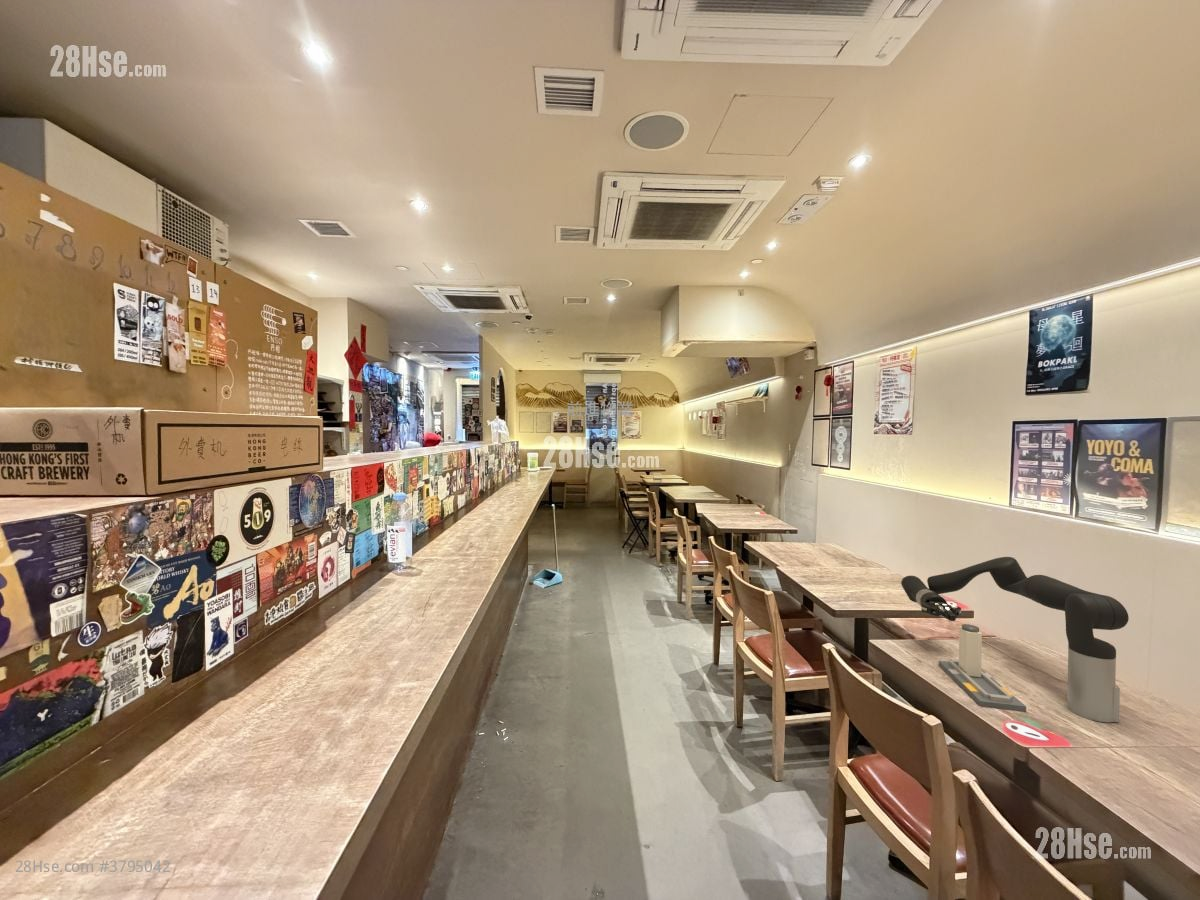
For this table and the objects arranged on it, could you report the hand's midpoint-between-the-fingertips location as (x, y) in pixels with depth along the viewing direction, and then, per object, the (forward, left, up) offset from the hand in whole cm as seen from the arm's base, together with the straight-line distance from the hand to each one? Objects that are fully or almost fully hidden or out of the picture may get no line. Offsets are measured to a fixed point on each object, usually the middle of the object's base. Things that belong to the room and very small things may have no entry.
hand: (952, 618), depth 160 cm
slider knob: (-2, +10, -14) cm, 17 cm away
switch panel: (-3, +15, -16) cm, 22 cm away
